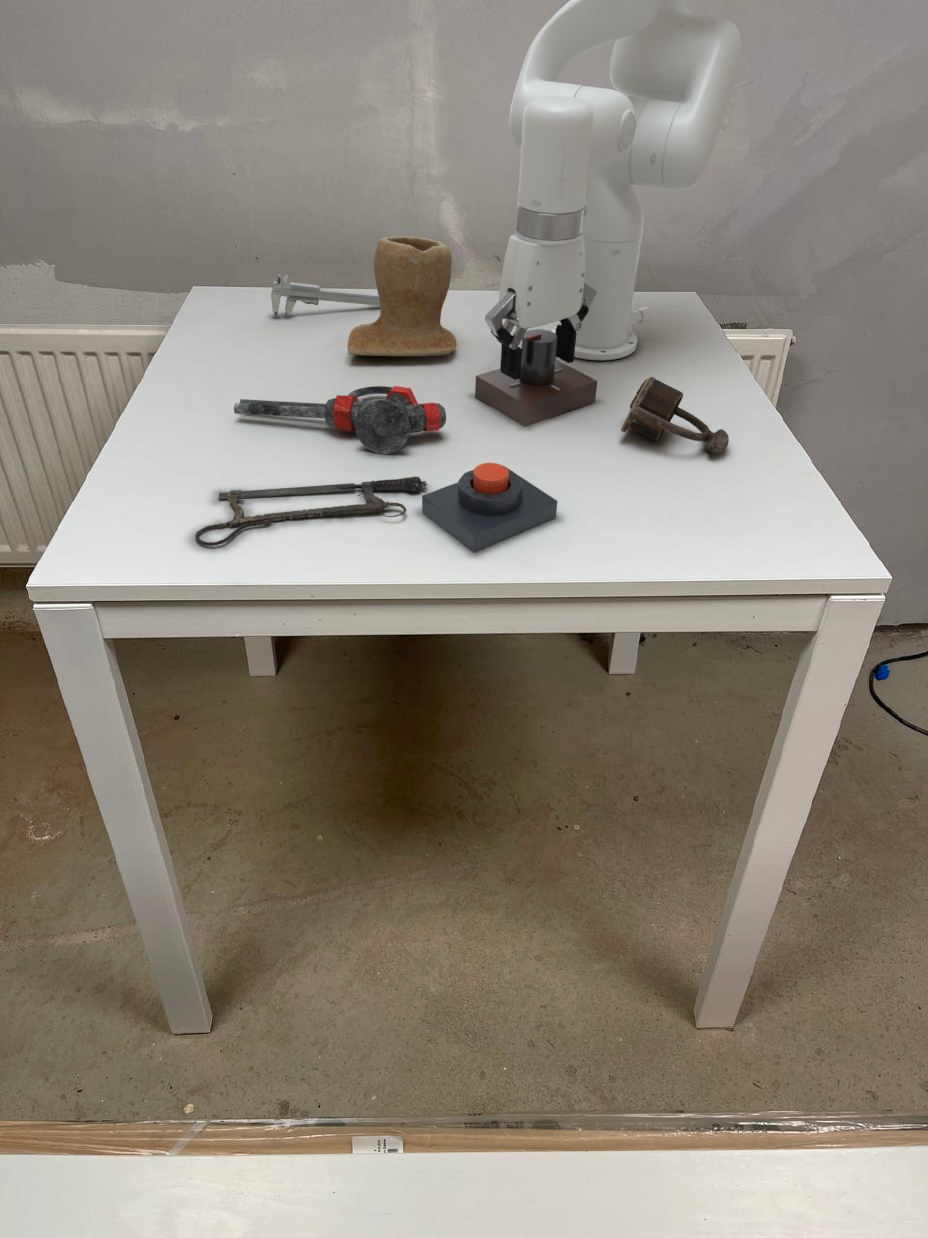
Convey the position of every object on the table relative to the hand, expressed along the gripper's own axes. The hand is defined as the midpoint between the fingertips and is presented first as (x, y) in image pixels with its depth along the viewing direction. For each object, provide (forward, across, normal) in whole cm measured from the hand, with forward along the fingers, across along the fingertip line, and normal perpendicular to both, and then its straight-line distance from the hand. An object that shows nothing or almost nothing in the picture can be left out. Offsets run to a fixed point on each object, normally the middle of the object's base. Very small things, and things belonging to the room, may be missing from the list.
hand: (537, 366), depth 113 cm
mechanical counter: (+5, -6, +18) cm, 19 cm away
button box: (+5, +22, +18) cm, 29 cm away
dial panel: (+5, 0, 0) cm, 5 cm away
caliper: (+5, +5, -40) cm, 41 cm away
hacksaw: (+5, +37, +7) cm, 38 cm away
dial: (+1, 0, 0) cm, 2 cm away
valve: (+5, +23, -9) cm, 25 cm away
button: (+1, +22, +18) cm, 28 cm away
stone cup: (+5, +5, -23) cm, 24 cm away
